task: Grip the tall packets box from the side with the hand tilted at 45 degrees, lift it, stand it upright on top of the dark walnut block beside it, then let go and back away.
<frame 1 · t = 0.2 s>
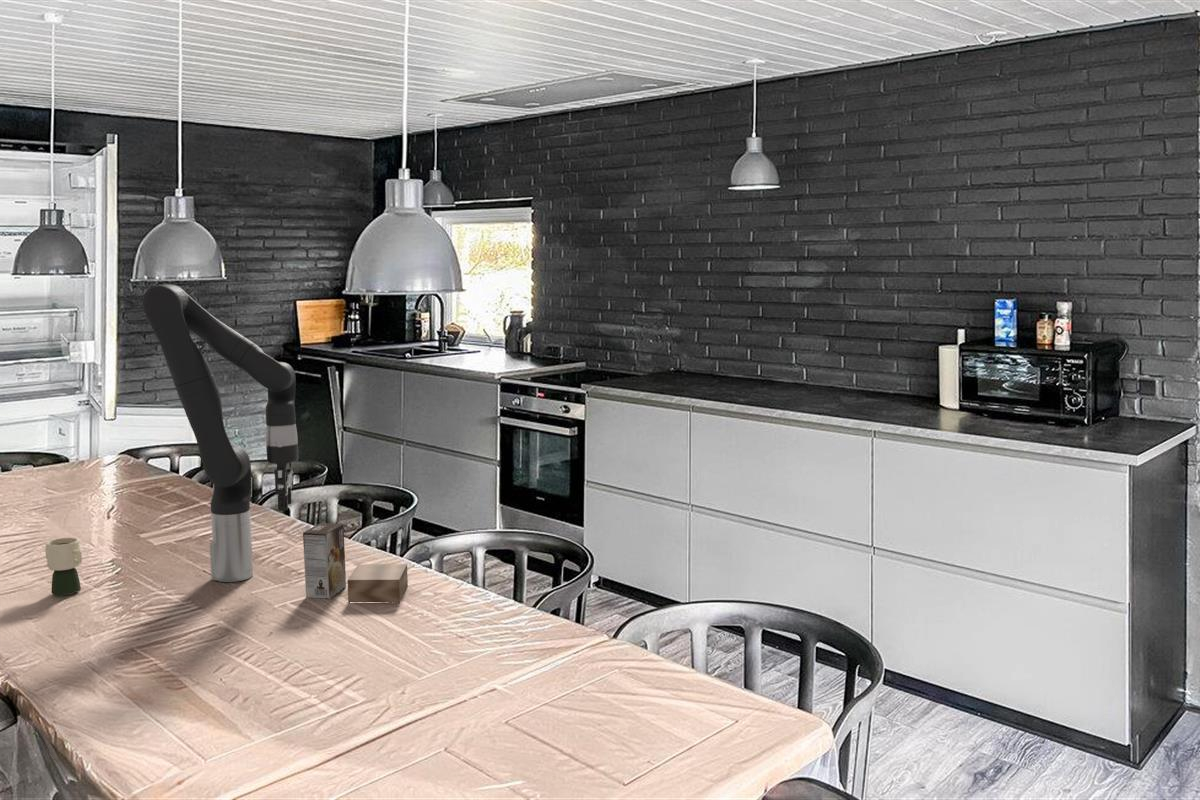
hand: (285, 507, 260), 18 cm above the table, tool pointing down, fingers open, 8 cm apart
character mug: (66, 594, 250), on the table
walnut block: (378, 595, 250), on the table
coffee box: (326, 593, 251), on the table
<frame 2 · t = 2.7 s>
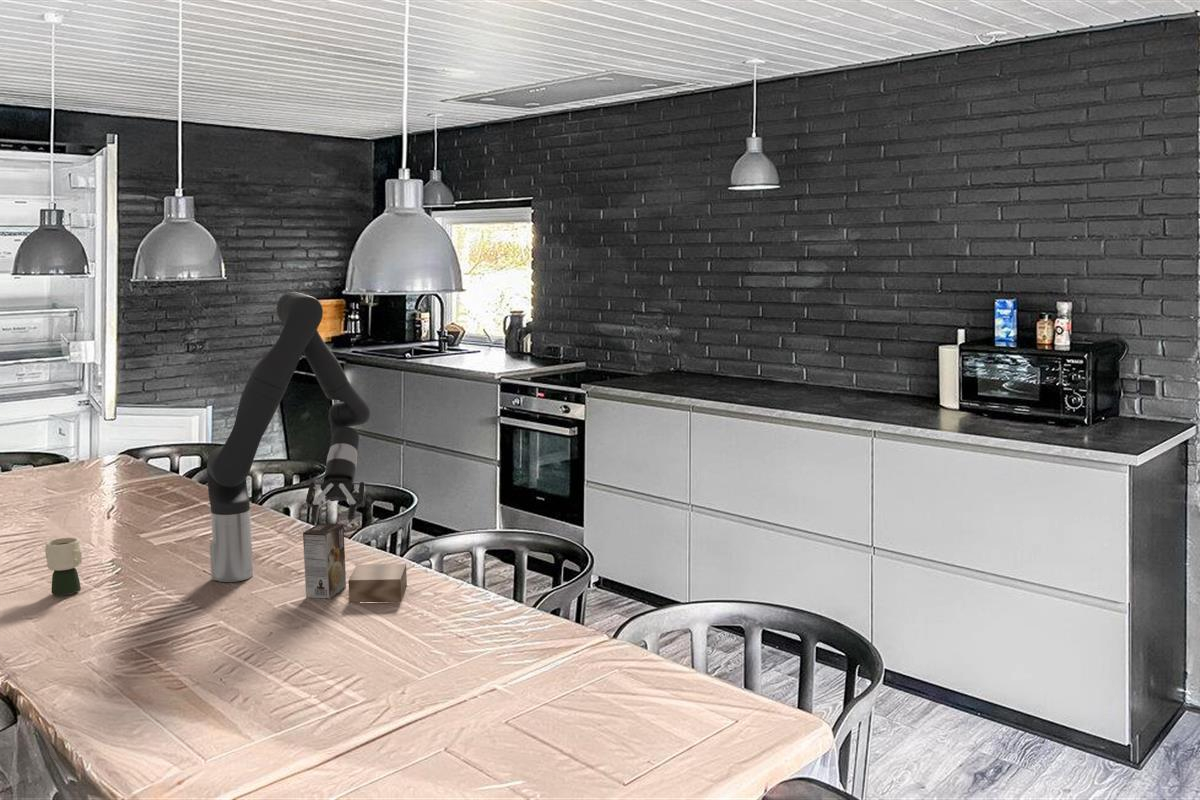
hand: (332, 520, 258), 15 cm above the table, tool tilted 45°, fingers open, 8 cm apart
nothing on the table moved.
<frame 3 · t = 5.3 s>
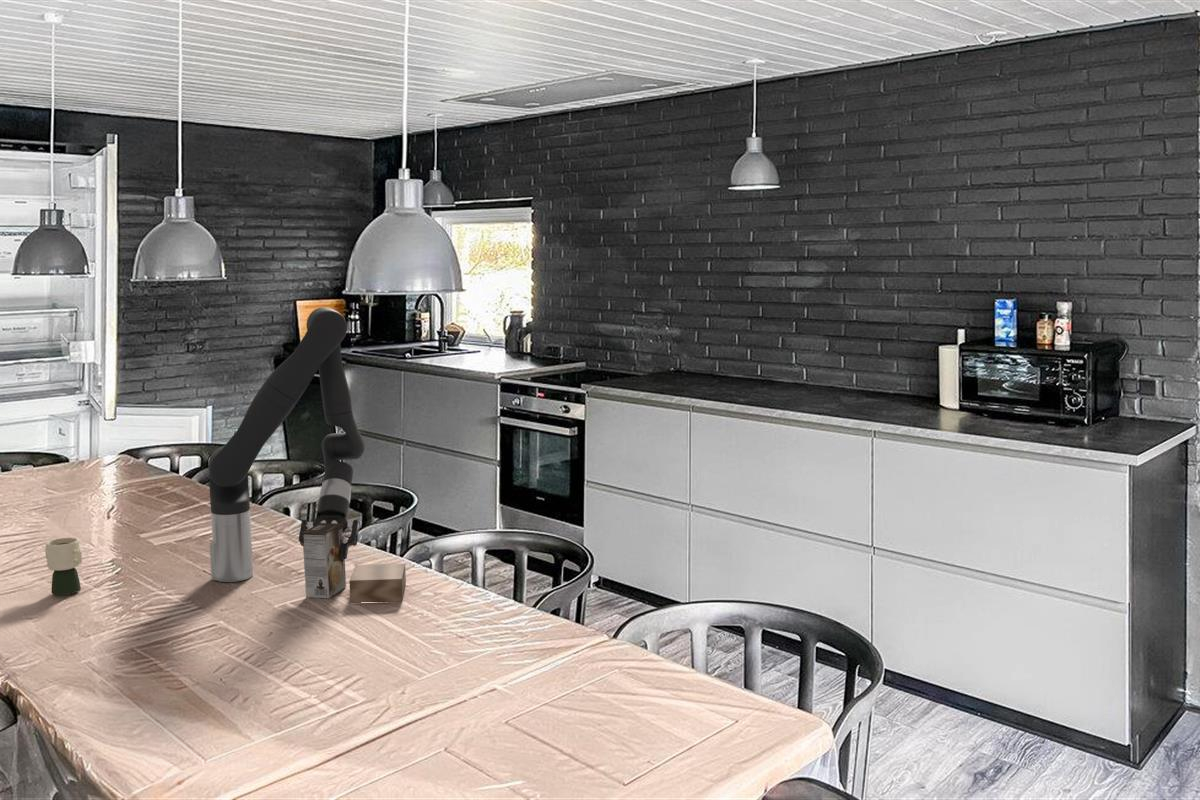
hand: (325, 559, 250), 8 cm above the table, tool tilted 45°, fingers closed on coffee box, 7 cm apart
coffee box: (326, 592, 251), on the table, touching gripper
everything else where it was.
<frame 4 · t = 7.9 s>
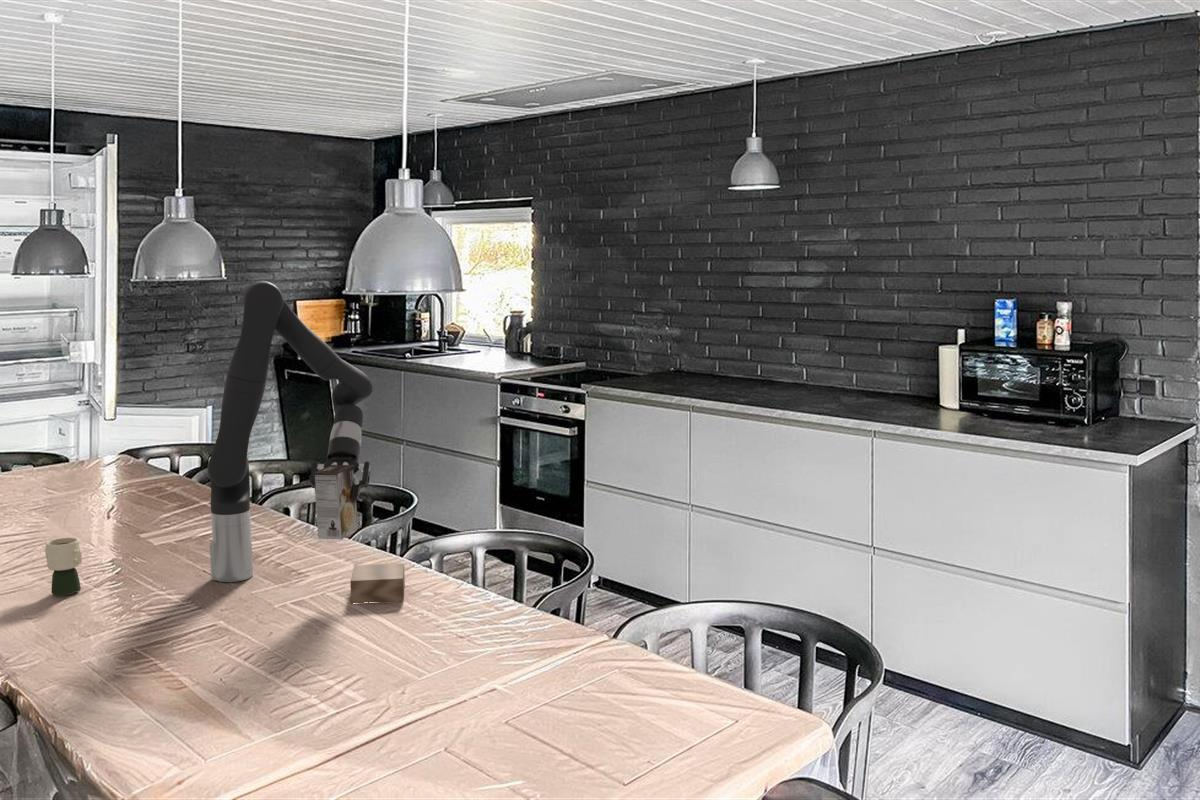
hand: (336, 501, 247), 23 cm above the table, tool tilted 45°, fingers closed on coffee box, 7 cm apart
coffee box: (338, 534, 249), point 14 cm above the table, touching gripper
everything else where it was.
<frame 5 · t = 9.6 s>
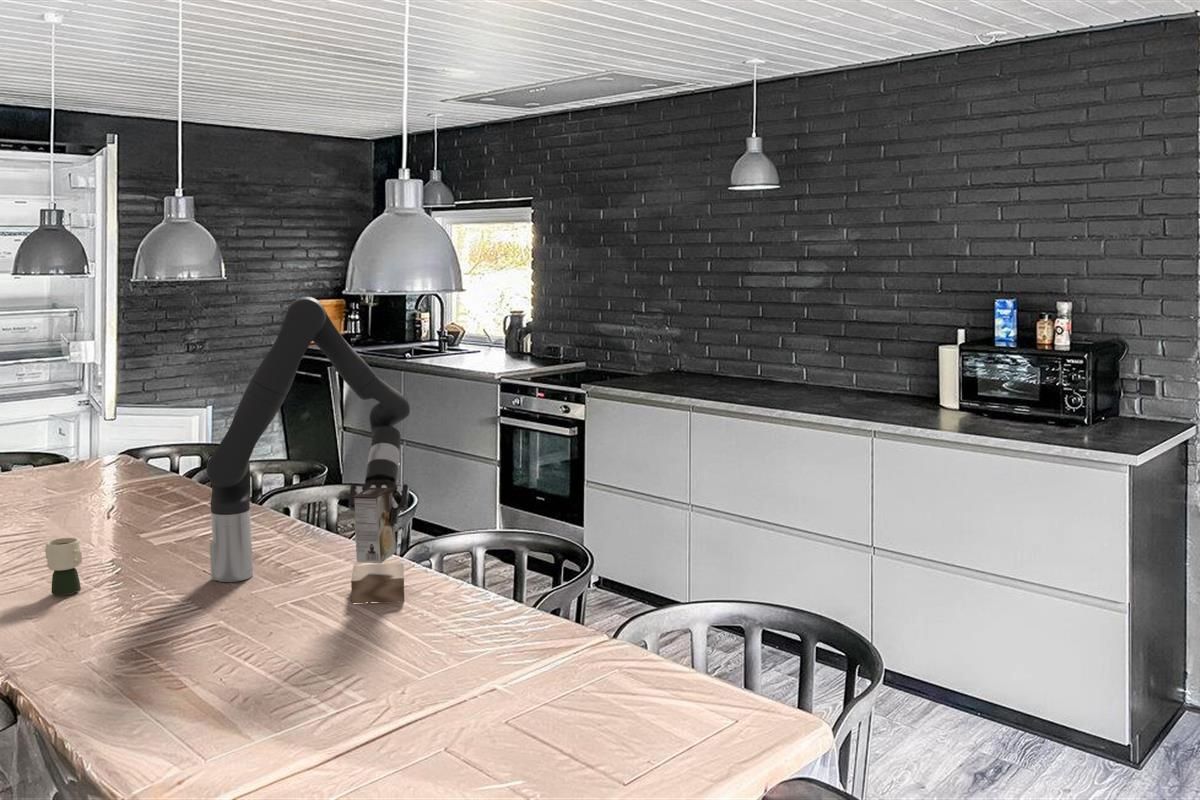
hand: (375, 524, 246), 18 cm above the table, tool tilted 45°, fingers closed on coffee box, 7 cm apart
coffee box: (376, 558, 247), point 9 cm above the table, touching gripper
everything else where it was.
when the fingers open (15 cm above the table, at t = 10.8 s): coffee box drops 2 cm, resting on walnut block.
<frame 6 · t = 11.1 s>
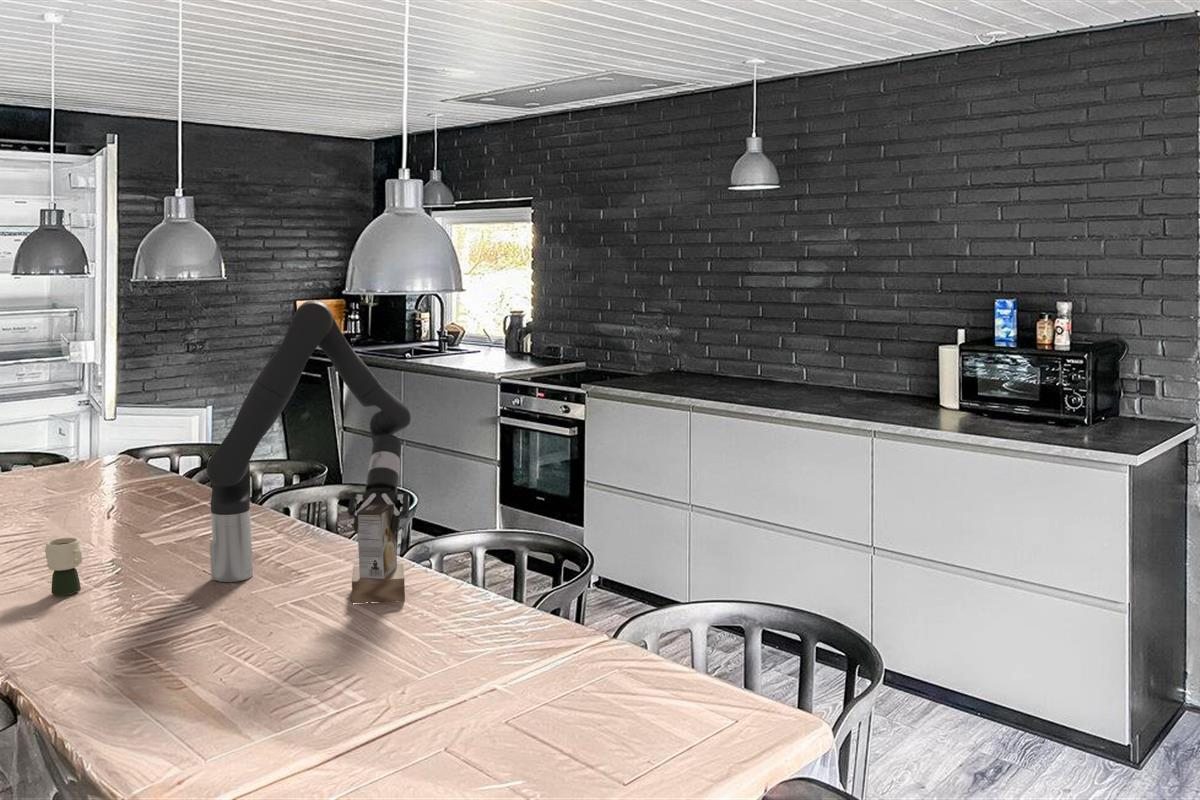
hand: (375, 532, 246), 16 cm above the table, tool tilted 45°, fingers open, 8 cm apart
walnut block: (378, 596, 250), on the table, touching coffee box
coffee box: (378, 573, 248), point 5 cm above the table, touching walnut block
everything else where it was.
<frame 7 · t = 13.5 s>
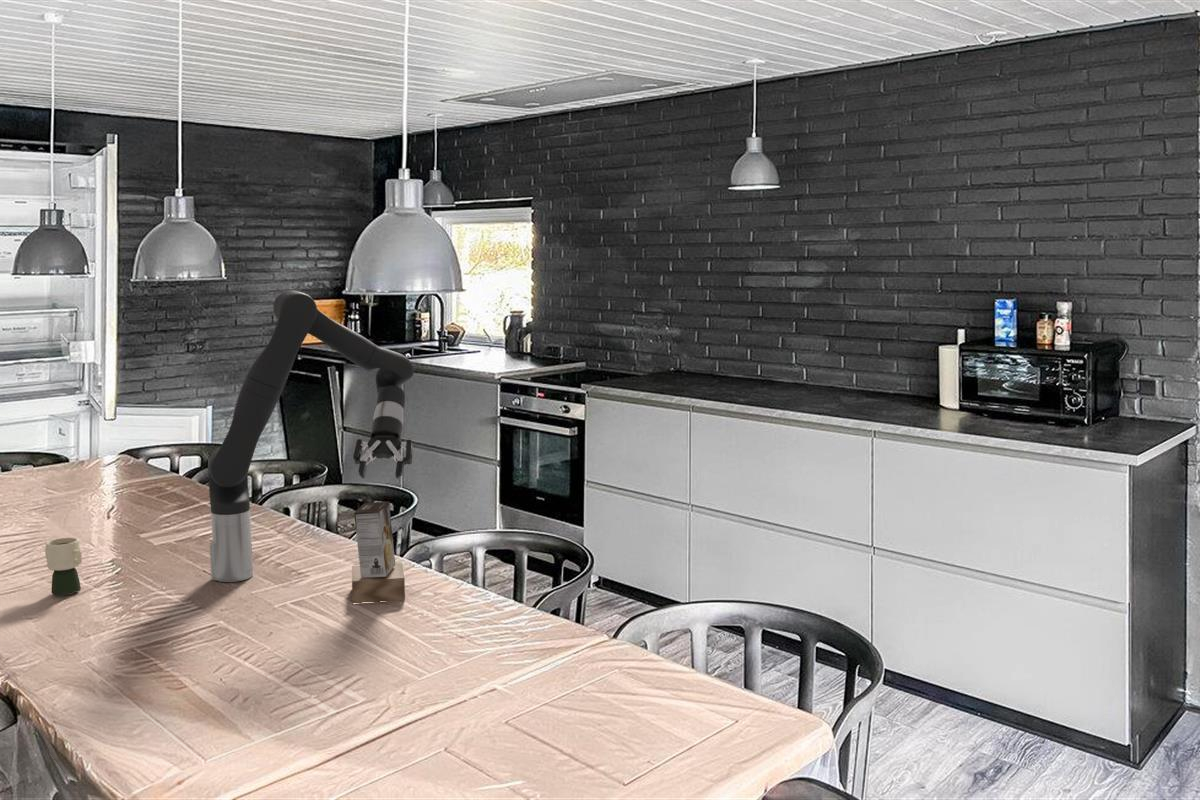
hand: (380, 476, 257), 26 cm above the table, tool tilted 45°, fingers open, 8 cm apart
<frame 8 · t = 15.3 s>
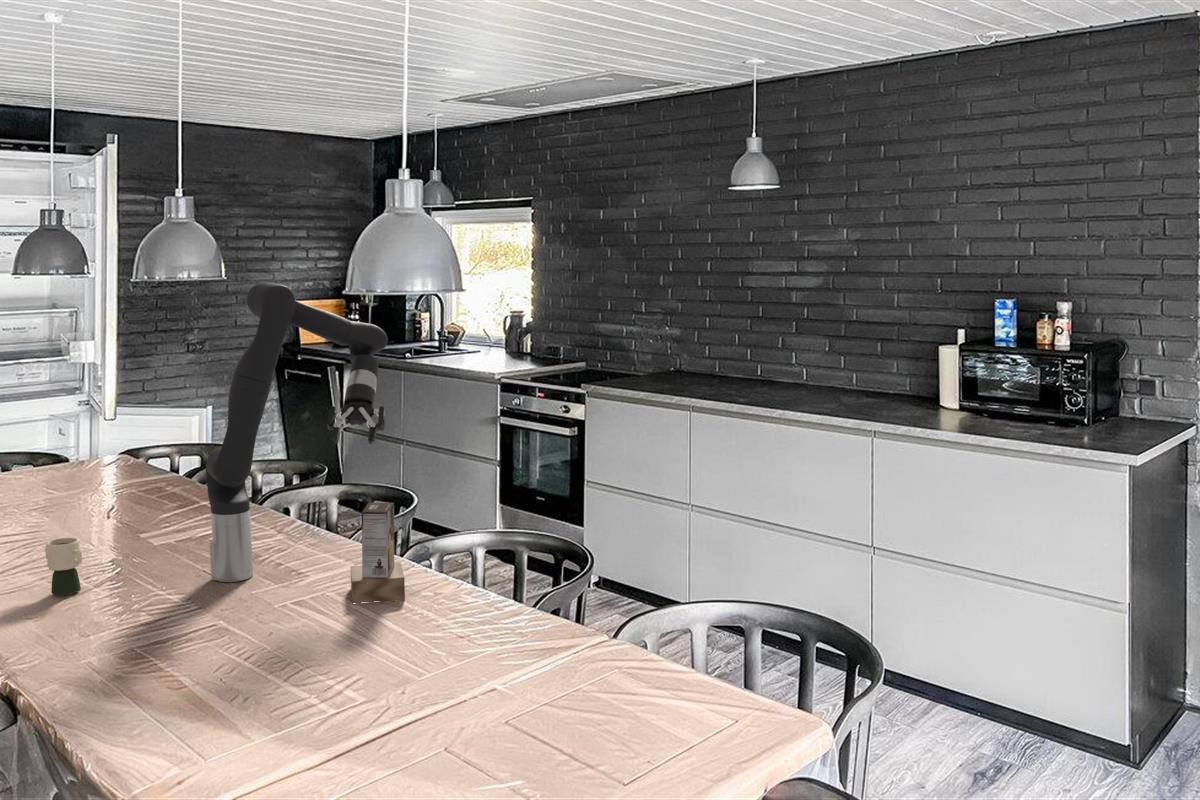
hand: (353, 442, 263), 34 cm above the table, tool tilted 45°, fingers open, 8 cm apart
at the end: coffee box inside the target area on the walnut block (0.8 cm from its centre), point 5.9 cm above the walnut block's base; coffee box tilted 2°; the gripper is holding nothing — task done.
